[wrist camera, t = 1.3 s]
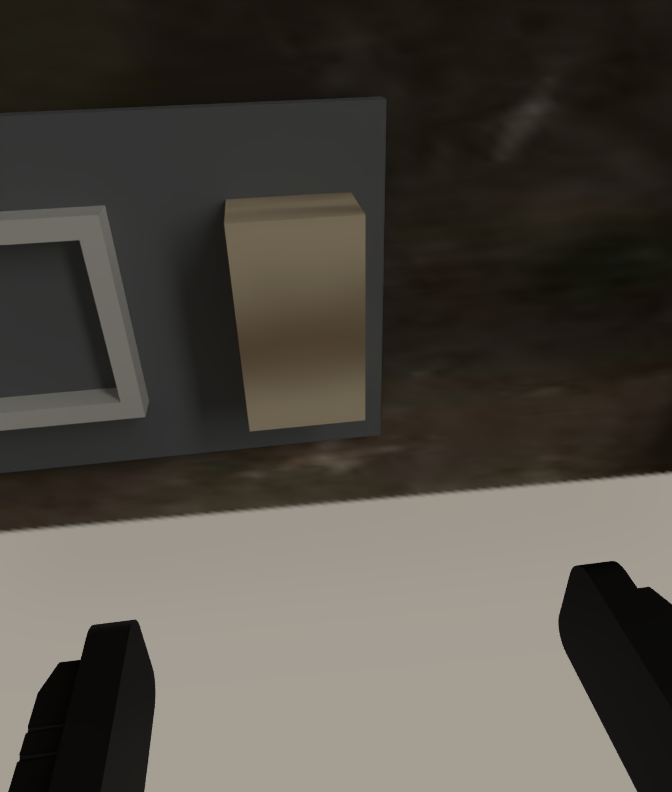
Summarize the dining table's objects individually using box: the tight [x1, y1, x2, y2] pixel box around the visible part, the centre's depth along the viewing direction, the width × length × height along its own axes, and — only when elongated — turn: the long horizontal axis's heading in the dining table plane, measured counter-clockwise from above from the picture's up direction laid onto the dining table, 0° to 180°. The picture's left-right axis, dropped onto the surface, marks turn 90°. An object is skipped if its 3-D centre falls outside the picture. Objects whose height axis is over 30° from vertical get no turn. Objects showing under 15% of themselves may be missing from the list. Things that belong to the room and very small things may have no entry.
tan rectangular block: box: [224, 192, 366, 431], centre depth 23 cm, size 8×4×3 cm, turn 2°
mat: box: [0, 97, 386, 473], centre depth 23 cm, size 22×14×1 cm, turn 92°
